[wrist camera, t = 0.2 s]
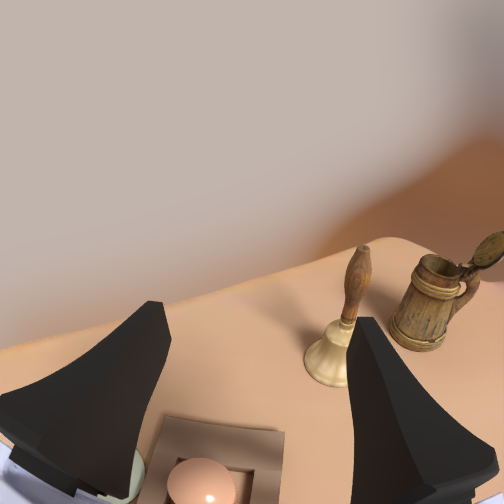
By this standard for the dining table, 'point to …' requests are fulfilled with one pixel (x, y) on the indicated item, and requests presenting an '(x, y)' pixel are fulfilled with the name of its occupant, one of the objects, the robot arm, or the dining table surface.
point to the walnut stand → (216, 457)
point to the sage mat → (135, 482)
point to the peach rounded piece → (201, 483)
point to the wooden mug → (440, 295)
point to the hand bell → (340, 326)
